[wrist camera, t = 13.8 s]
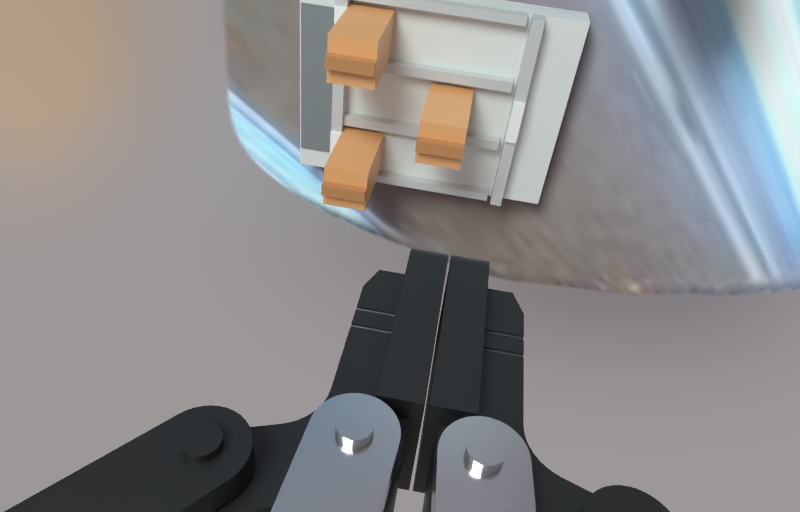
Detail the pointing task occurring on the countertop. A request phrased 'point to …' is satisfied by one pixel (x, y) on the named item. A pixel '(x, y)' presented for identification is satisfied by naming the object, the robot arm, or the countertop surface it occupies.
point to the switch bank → (455, 66)
